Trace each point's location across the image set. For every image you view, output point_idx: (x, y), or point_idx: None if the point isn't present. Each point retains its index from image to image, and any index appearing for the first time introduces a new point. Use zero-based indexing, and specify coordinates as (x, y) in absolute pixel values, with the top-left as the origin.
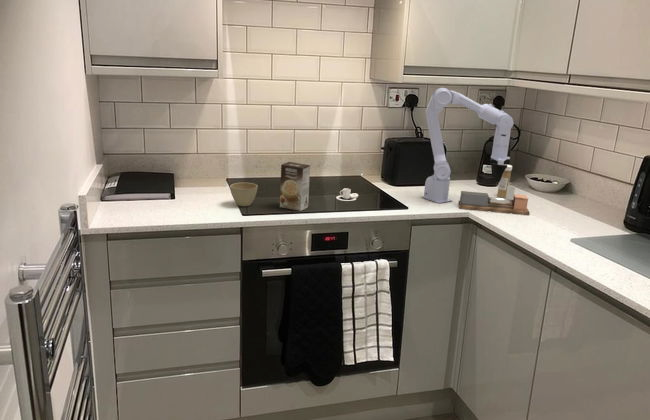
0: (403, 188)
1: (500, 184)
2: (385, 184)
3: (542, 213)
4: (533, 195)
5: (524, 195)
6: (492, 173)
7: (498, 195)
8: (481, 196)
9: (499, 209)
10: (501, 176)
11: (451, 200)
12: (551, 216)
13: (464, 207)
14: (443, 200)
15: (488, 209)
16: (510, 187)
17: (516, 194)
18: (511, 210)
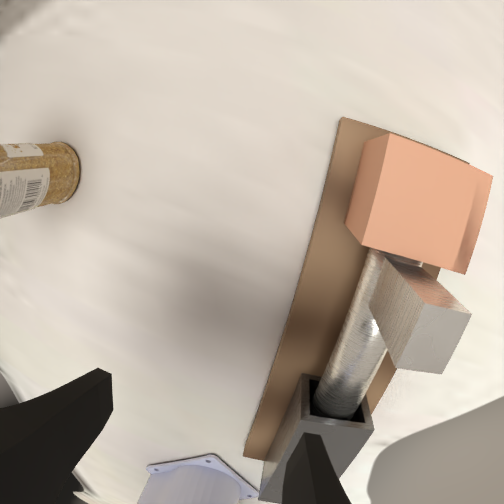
0: (99, 487)
1: (16, 210)
2: (83, 496)
3: (410, 54)
4: (44, 10)
5: (398, 150)
6: (95, 436)
7: (64, 200)
8: (354, 451)
9: None
10: (339, 483)
11: (219, 460)
12: (456, 40)
13: None
14: (239, 485)
15: (388, 380)
16: (447, 352)
17: (369, 218)
18: (438, 269)
